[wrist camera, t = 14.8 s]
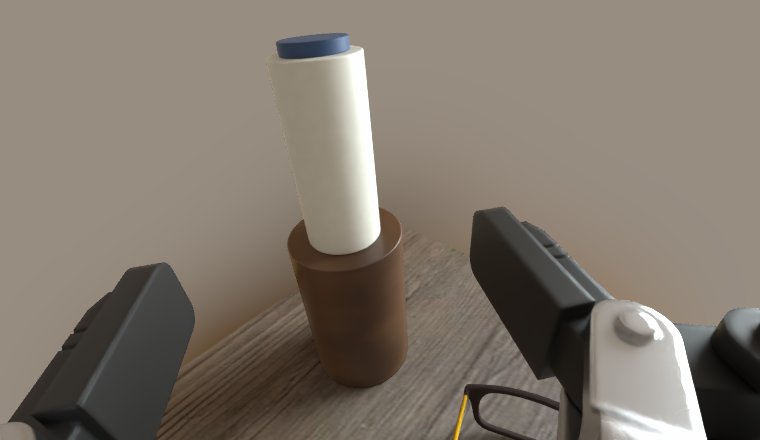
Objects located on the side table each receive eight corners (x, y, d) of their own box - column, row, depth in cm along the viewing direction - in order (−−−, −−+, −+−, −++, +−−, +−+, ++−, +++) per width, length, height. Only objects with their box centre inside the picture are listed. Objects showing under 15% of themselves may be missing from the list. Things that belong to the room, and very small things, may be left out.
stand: (325, 401, 23) (289, 284, 17) (314, 323, 29) (284, 215, 23) (421, 371, 25) (418, 253, 19) (392, 302, 30) (384, 195, 24)
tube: (312, 263, 19) (260, 48, 13) (305, 221, 22) (262, 39, 16) (389, 245, 19) (372, 35, 14) (370, 207, 23) (351, 29, 17)
